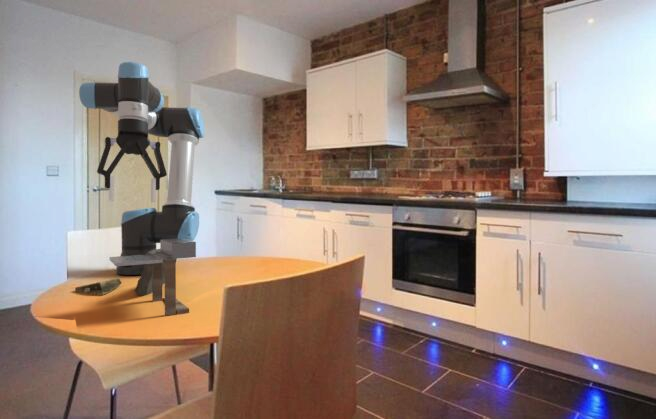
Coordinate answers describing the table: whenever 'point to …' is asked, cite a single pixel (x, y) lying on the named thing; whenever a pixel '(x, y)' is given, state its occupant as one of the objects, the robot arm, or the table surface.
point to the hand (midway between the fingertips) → (132, 201)
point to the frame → (167, 287)
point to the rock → (99, 287)
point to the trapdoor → (160, 253)
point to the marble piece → (148, 278)
